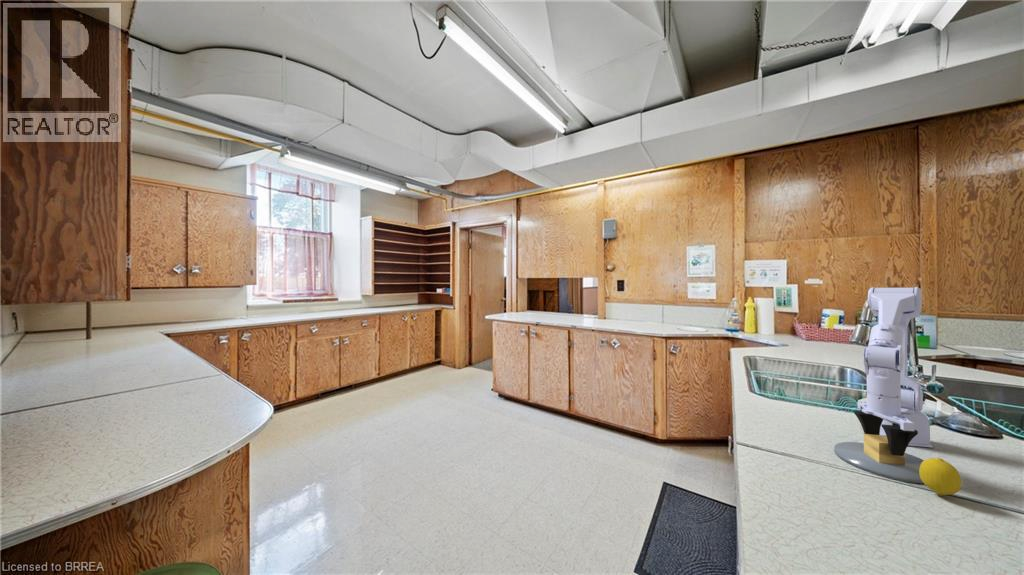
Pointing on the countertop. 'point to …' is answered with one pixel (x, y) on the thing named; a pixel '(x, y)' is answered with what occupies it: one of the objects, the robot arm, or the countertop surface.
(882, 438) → the cube
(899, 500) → the countertop surface
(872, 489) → the countertop surface
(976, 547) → the countertop surface
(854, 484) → the countertop surface
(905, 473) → the plate
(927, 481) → the lemon
